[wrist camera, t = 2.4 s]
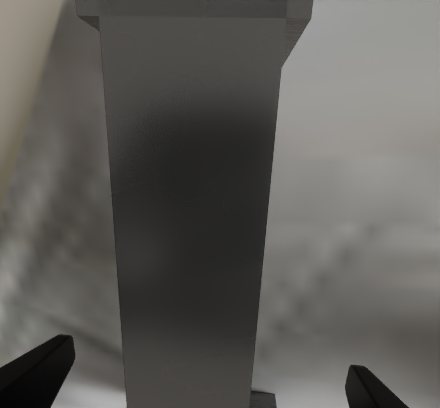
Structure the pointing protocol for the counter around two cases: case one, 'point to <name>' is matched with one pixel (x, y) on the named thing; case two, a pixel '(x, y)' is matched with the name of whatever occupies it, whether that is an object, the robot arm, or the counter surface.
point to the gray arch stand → (191, 186)
